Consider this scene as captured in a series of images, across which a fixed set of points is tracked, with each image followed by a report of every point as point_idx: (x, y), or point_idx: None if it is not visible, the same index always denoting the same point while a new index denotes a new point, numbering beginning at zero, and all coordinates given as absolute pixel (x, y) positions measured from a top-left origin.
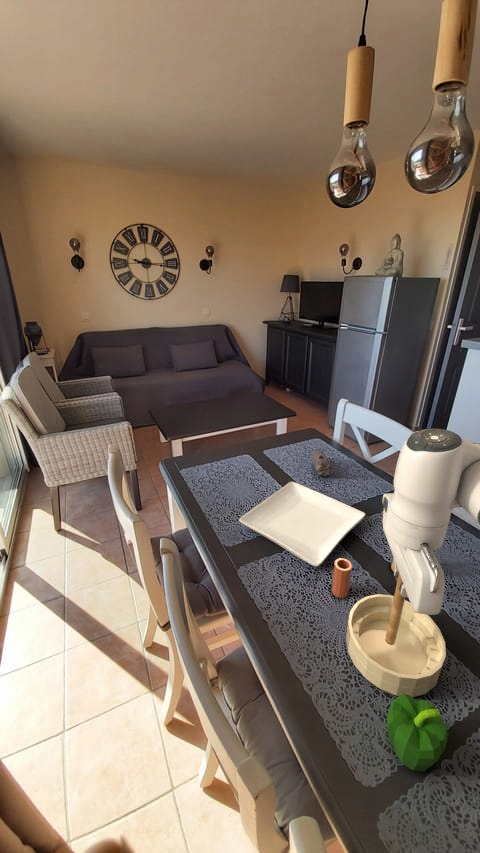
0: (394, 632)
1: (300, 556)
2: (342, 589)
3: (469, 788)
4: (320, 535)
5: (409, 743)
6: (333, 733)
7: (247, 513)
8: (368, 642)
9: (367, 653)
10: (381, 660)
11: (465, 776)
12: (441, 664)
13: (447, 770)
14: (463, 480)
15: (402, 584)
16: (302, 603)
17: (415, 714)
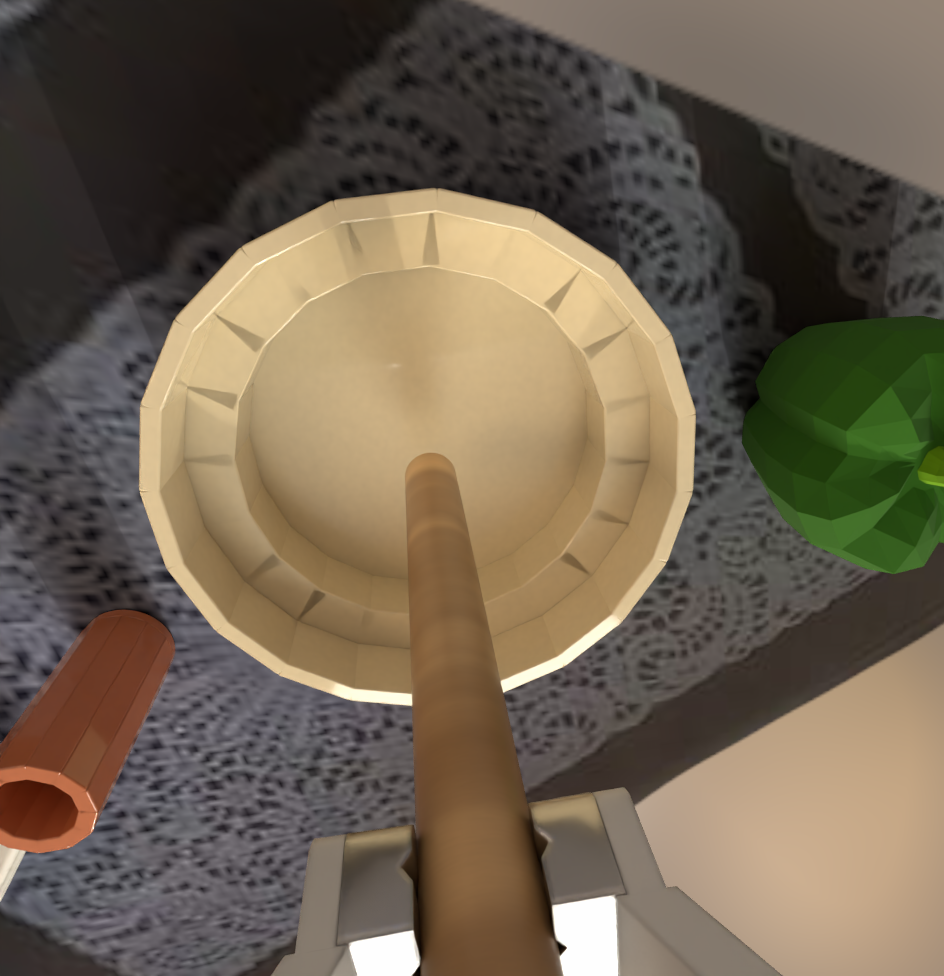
0: (464, 515)
1: (7, 882)
2: (152, 680)
3: (929, 203)
4: None
5: None
6: (763, 634)
7: None
8: None
9: (470, 540)
10: (491, 484)
11: (894, 206)
12: (602, 258)
13: (872, 274)
14: None
15: (584, 969)
16: (272, 777)
17: (910, 475)
